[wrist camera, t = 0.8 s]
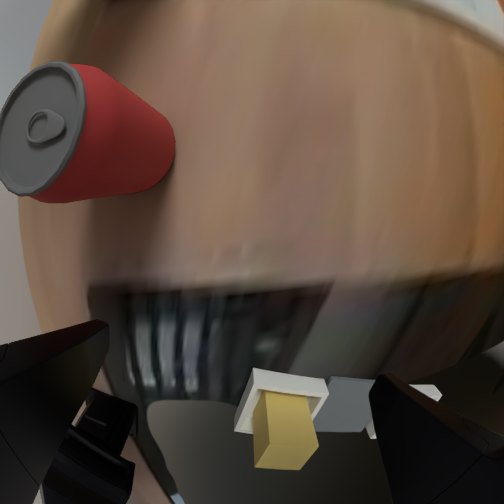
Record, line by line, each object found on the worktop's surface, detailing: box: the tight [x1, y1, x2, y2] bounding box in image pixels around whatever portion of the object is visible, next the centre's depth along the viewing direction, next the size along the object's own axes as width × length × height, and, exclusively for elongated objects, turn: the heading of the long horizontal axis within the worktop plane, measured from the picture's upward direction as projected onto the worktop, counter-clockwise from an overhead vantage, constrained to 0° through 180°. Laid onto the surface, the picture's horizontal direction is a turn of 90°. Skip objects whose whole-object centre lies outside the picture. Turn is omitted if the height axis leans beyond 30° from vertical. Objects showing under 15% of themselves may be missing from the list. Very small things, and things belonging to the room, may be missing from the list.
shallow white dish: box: [234, 368, 329, 434], centre depth 23 cm, size 7×7×2 cm
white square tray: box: [365, 385, 442, 439], centre depth 25 cm, size 7×7×2 cm
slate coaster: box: [313, 376, 375, 432], centre depth 25 cm, size 8×8×1 cm
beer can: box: [0, 61, 176, 203], centre depth 13 cm, size 7×7×12 cm
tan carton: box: [253, 390, 319, 470], centre depth 20 cm, size 4×4×7 cm
